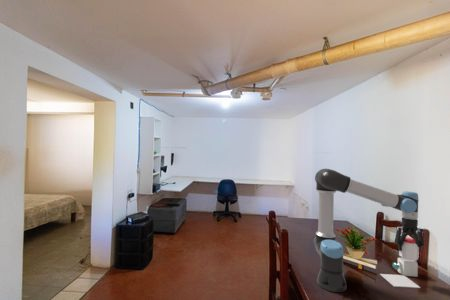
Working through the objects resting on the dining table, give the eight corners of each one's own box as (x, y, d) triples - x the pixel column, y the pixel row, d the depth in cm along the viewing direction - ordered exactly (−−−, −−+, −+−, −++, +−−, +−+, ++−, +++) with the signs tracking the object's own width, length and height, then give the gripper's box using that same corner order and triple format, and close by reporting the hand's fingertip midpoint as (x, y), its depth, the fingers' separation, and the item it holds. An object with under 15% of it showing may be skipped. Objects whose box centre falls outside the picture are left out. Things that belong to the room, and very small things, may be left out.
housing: (403, 275, 148) (403, 261, 149) (397, 271, 154) (397, 257, 155) (417, 276, 148) (417, 262, 148) (410, 271, 154) (410, 257, 154)
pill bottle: (401, 254, 148) (401, 236, 148) (417, 257, 143) (417, 239, 143) (400, 257, 142) (400, 239, 142) (417, 262, 137) (417, 242, 137)
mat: (394, 286, 136) (394, 286, 136) (380, 274, 149) (380, 273, 149) (420, 288, 134) (420, 287, 135) (403, 275, 148) (403, 275, 148)
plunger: (396, 270, 150) (396, 264, 150) (392, 267, 154) (392, 261, 154) (413, 271, 149) (413, 264, 149) (409, 268, 153) (409, 262, 153)
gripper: (395, 218, 140) (394, 258, 140) (433, 220, 139) (432, 260, 138) (387, 215, 148) (386, 253, 147) (423, 217, 146) (422, 255, 146)
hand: (408, 256), depth 143 cm, fingers closed on pill bottle, 8 cm apart
